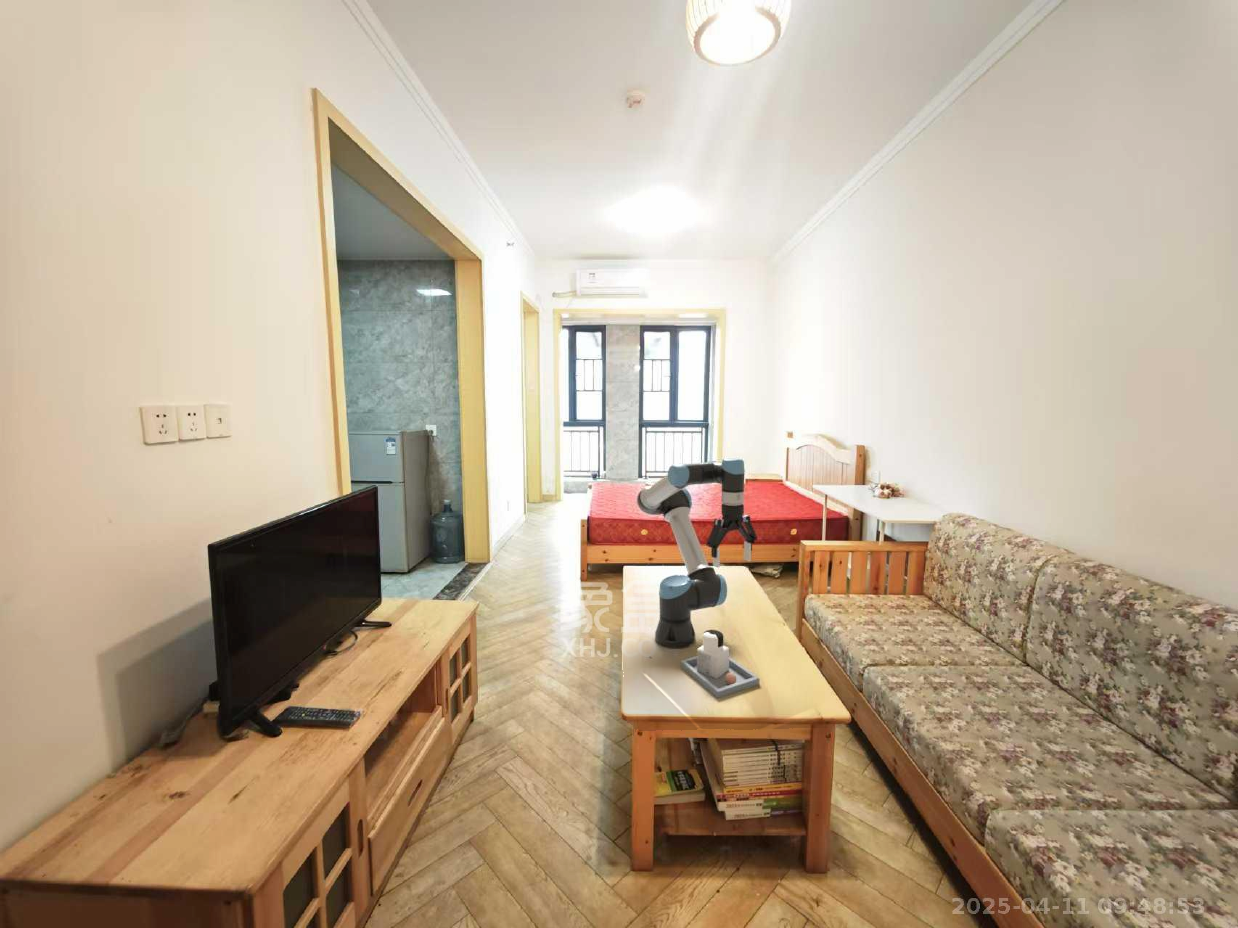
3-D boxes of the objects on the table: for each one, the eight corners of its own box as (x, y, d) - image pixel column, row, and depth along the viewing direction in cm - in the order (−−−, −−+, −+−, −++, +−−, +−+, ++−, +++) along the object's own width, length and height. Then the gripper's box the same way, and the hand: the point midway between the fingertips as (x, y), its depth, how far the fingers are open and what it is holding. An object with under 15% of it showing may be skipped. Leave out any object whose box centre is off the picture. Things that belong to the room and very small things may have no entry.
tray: (680, 669, 159) (680, 660, 158) (719, 657, 166) (719, 649, 165) (717, 701, 141) (717, 691, 141) (759, 687, 148) (759, 677, 147)
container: (709, 661, 161) (709, 625, 160) (729, 669, 156) (729, 631, 155) (696, 671, 156) (696, 633, 154) (717, 679, 150) (717, 640, 149)
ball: (722, 682, 149) (722, 672, 148) (731, 680, 150) (731, 669, 150) (729, 688, 145) (729, 677, 145) (738, 685, 147) (738, 674, 147)
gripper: (709, 508, 155) (709, 572, 157) (768, 501, 166) (767, 561, 168) (696, 505, 161) (696, 565, 164) (753, 498, 172) (752, 555, 174)
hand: (732, 563), depth 166 cm, fingers open, 13 cm apart
